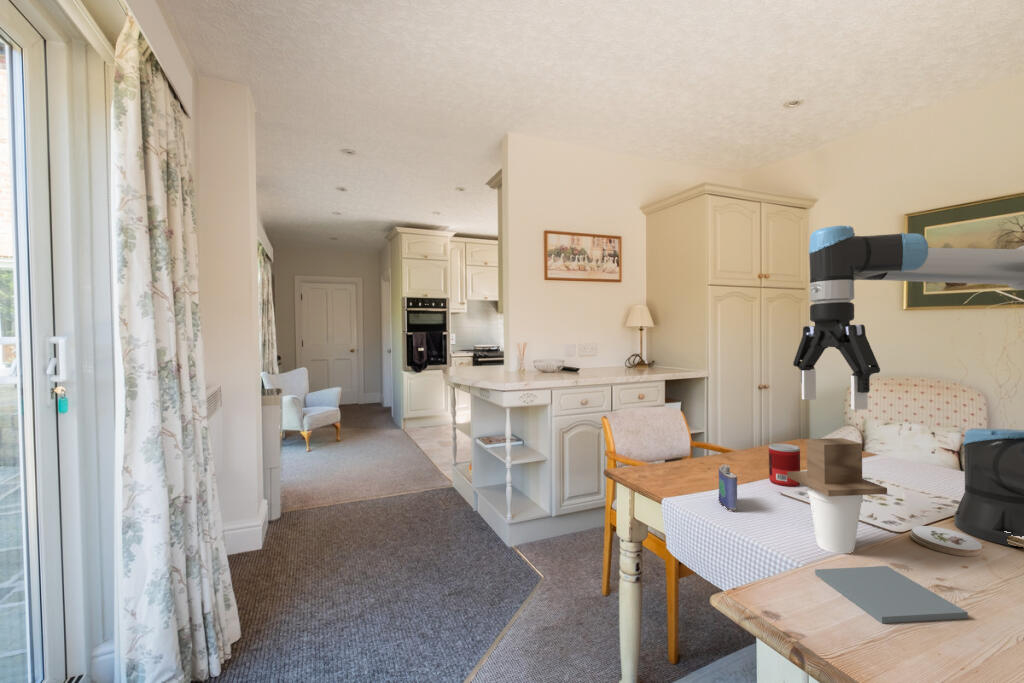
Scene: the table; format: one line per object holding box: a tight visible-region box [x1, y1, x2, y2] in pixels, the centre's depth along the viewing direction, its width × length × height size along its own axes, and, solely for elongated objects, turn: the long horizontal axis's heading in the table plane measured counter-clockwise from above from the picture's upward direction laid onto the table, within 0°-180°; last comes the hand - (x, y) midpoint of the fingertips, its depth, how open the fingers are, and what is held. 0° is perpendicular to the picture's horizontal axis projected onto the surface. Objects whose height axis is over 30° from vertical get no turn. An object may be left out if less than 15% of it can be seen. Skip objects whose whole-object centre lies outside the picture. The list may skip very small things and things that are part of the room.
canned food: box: [768, 443, 801, 488], centre depth 133 cm, size 8×8×11 cm
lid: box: [787, 437, 888, 496], centre depth 93 cm, size 12×12×9 cm
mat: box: [814, 565, 969, 624], centre depth 76 cm, size 14×14×1 cm
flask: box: [718, 464, 739, 512], centre depth 116 cm, size 9×3×11 cm, turn 172°
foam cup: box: [807, 487, 864, 555], centre depth 93 cm, size 10×9×13 cm
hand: (832, 404), depth 93 cm, fingers open, 13 cm apart
